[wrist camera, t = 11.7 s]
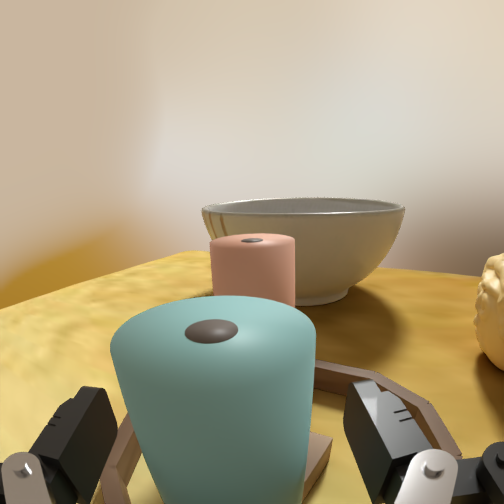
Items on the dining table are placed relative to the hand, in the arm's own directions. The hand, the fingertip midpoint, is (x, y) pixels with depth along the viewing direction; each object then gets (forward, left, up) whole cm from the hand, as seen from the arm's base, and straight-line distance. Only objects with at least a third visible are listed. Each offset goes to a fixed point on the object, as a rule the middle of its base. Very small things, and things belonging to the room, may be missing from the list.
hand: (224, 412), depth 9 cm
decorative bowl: (-33, -12, -8) cm, 36 cm away
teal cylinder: (+1, +1, -8) cm, 8 cm away
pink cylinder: (-8, -4, -8) cm, 12 cm away
